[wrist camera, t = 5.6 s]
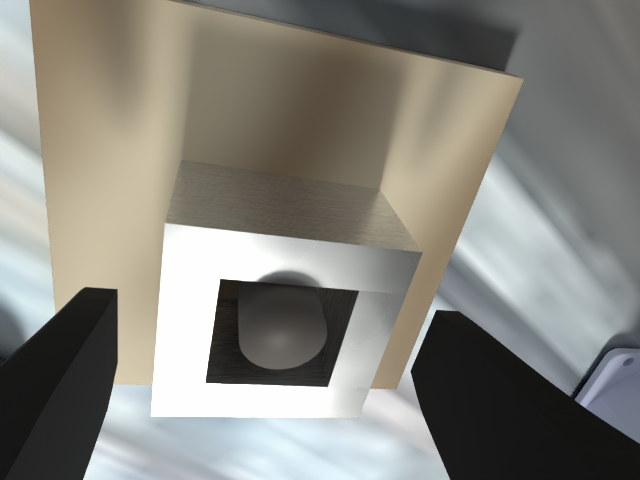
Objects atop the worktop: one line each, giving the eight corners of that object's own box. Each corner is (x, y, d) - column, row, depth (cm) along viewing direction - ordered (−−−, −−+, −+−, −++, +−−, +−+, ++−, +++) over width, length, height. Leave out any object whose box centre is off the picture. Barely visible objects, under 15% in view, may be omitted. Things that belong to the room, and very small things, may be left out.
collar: (379, 189, 13) (422, 252, 10) (334, 333, 16) (358, 417, 13) (181, 159, 12) (165, 223, 9) (167, 324, 14) (151, 416, 11)
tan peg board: (505, 71, 13) (636, 120, 9) (388, 369, 19) (435, 486, 15) (43, -31, 10) (-91, -32, 6) (70, 361, 16) (12, 504, 12)
